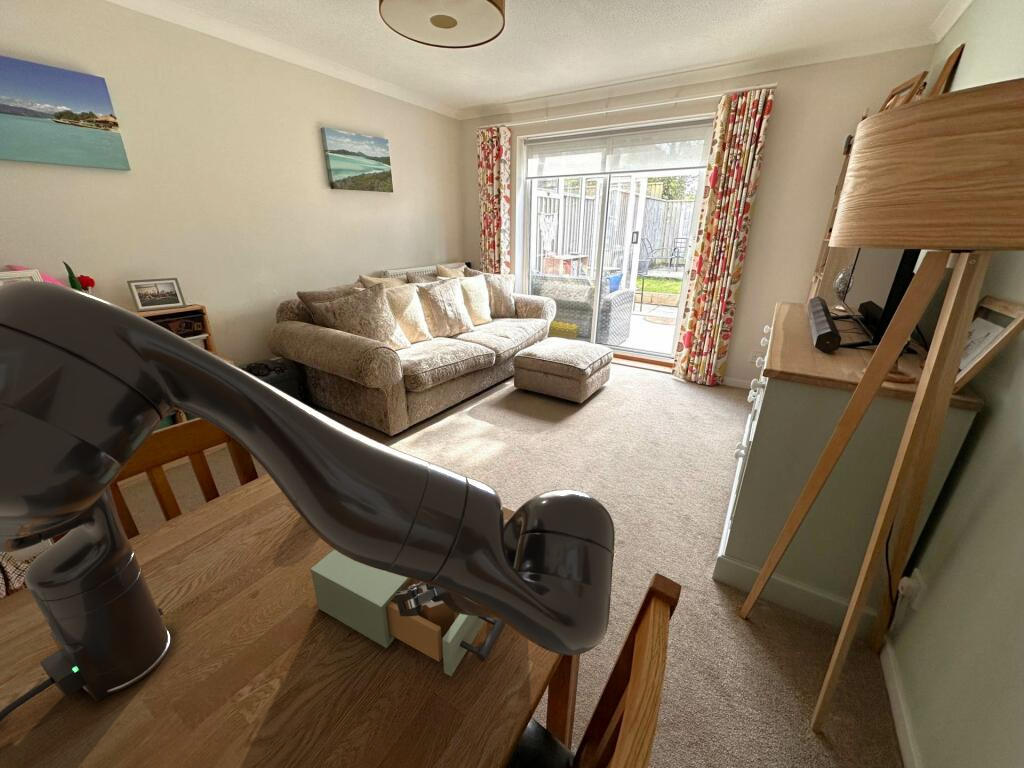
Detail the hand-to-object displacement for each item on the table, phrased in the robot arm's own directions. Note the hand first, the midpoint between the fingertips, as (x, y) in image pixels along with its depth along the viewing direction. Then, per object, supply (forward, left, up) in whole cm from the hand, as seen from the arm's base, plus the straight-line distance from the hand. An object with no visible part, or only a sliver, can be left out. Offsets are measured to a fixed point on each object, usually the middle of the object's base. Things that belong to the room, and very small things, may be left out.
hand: (441, 580), depth 55 cm
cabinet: (+2, +15, -14) cm, 20 cm away
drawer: (+2, +1, -13) cm, 13 cm away
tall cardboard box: (+2, +3, -12) cm, 12 cm away
